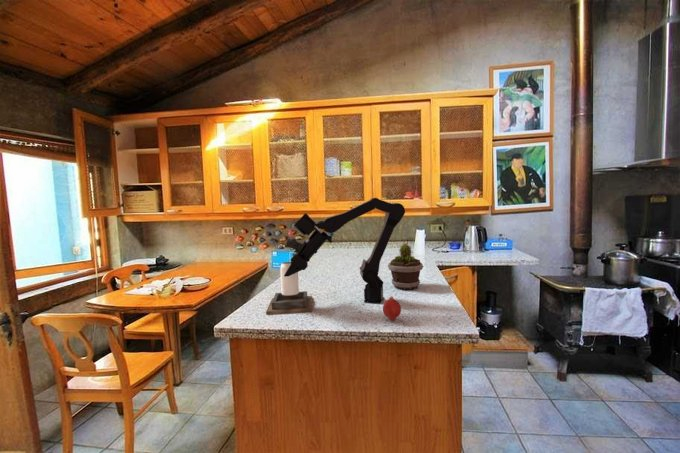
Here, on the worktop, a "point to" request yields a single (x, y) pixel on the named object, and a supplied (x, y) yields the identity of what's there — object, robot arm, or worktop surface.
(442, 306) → the worktop surface
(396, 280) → the flowerpot
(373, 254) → the robot arm
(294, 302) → the socket
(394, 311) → the onion
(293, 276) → the can
